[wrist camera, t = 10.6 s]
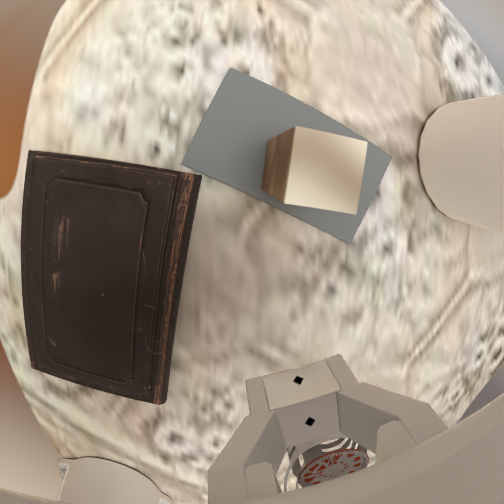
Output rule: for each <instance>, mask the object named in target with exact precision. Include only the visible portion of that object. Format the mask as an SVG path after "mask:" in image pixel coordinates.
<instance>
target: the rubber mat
mask: <svg viewBox="0 0 504 504" xmlns="http://www.w3.org/2000/svg"><path fill="white" fill-rule="evenodd" d="M295 126H299V127H304V128H309V129H314V130H319V131H324V132H328V133H333V134H337V135H341V136H346V137H350V138H354V139H358V140H362V141H366V142H368V143H367V150H366V158H365V165H364V171H363V178H362V184H361V190H360V196H359V202H358V207H357V213H356V214H350V213H344V212H338V211H331V210H325V209H319V208H312V207H305V206H299V205H292V204H285V203H283V202H282V201H280V200H278V199H277V198H275V197H274V196H272V195H270V194H269V193H267V192H266V191H264V190H263V189H261V185H262V178H263V171H264V164H265V157H266V150H267V143H268V140H269V139H271V138H273V137H275V136H277V135H279V134H281V133H283V132H285V131H287V130H289V129H291V128H293V127H295ZM391 158H392V156H390V155H389V154H388V153H386V152H385V151H383V150H382V149H380V148H379V147H377V146H376V145H374V144H373V143H371V142H370V141H368V140H366V139H365V138H363V137H362V136H360V135H359V134H357V133H355V132H354V131H352V130H351V129H349V128H347V127H346V126H344V125H342V124H341V123H339V122H337V121H336V120H334V119H332V118H330V117H329V116H327V115H325V114H323V113H322V112H320V111H318V110H316V109H314V108H313V107H311V106H309V105H307V104H305V103H303V102H302V101H300V100H298V99H296V98H294V97H292V96H290V95H288V94H286V93H284V92H282V91H280V90H278V89H276V88H274V87H272V86H270V85H268V84H266V83H264V82H262V81H259V80H257V79H255V78H253V77H251V76H249V75H246V74H244V73H242V72H239V71H237V70H235V69H233V68H230V69H229V71H228V73H227V75H226V76H225V78H224V80H223V82H222V84H221V85H220V87H219V89H218V91H217V93H216V95H215V97H214V99H213V100H212V102H211V104H210V106H209V108H208V110H207V112H206V114H205V116H204V118H203V120H202V122H201V124H200V126H199V128H198V130H197V132H196V134H195V136H194V138H193V140H192V142H191V144H190V146H189V149H188V151H187V153H186V155H185V157H184V159H183V161H182V165H184V166H187V167H189V168H191V169H194V170H196V171H198V172H200V173H203V174H205V175H207V176H209V177H212V178H214V179H216V180H218V181H220V182H223V183H225V184H227V185H229V186H231V187H234V188H236V189H238V190H240V191H242V192H244V193H246V194H249V195H251V196H253V197H255V198H257V199H259V200H261V201H263V202H266V203H268V204H270V205H272V206H274V207H276V208H278V209H280V210H282V211H284V212H286V213H288V214H290V215H292V216H294V217H296V218H299V219H301V220H303V221H305V222H307V223H309V224H311V225H313V226H315V227H317V228H319V229H321V230H323V231H325V232H326V233H328V234H330V235H332V236H334V237H336V238H338V239H340V240H342V241H344V242H346V243H348V244H350V243H351V241H352V239H353V237H354V235H355V233H356V231H357V229H358V227H359V225H360V223H361V221H362V219H363V217H364V215H365V213H366V211H367V209H368V207H369V205H370V203H371V201H372V199H373V197H374V195H375V193H376V191H377V189H378V186H379V184H380V182H381V180H382V178H383V176H384V174H385V171H386V169H387V167H388V165H389V163H390V160H391Z"/></svg>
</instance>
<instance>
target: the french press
mask: <svg viewBox="0 0 504 504" xmlns="http://www.w3.org/2000/svg"><path fill="white" fill-rule="evenodd" d="M338 438H339V439H338ZM345 438H346V436H344V435H343V434H341V432H339V433H335V434H332V435H329V436H325V437H322V438H318V439H315V440H311V441H308V442H305V443H302V444H298V445H297V447H295V446H292V447H288V448H287V452H288V456H289V460H290V466H289V468H288V470H287V472H286V475H285V482H284V492H287V488H286V485H287V477H288V474H289V471H290V469H291V468H292V472H293V474H294V475H295V476H296V477H297V482H296V490H297V489H298V483H299V484H300V485H301V486H302V487H303V488H305V487H308V486H312V485H315V484H319V483H322V482H326V481H329V480H332V479H335V478H338V477H341V476H344V475H347V474H350V473H353V472H356V471H358V470H361V469H364V468H366V467H367V465H368V462H369V457H368V455H367V453H366V452H367V449H366V448H364V447H363V446H361V445H359V444H358V447H357V449H354V448H355V445H356V442H354V441H353V443H352V447H351V448H350V449H346V448H347V447H348V446H349V444H350V441H351V439H349V438H348V440H347V441H346V443H345V444H344V445H343V446H342V447H341V448H340V449H337V450H334V451H331V452H322V449H326V448H331V447H334V446H337V445H339V444H340V443H341V442H342V441H343V440H344V439H345ZM333 439H338V440H337V441H335V442H332V443H329V444H321V445H320V443H323V442H325V441H328V440H333ZM300 454H302V455H303V458H304V464H303V466H302V467H301V466H300V462H299V458H298V457H299V456H300ZM305 465H306V466H305ZM304 466H305V467H304Z"/></svg>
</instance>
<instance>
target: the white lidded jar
mask: <svg viewBox="0 0 504 504" xmlns="http://www.w3.org/2000/svg"><path fill="white" fill-rule="evenodd" d="M419 164H420V173H421V177H422V180H423V183H424V186H425V189H426V192H427V193H428V195H429V196H430V198H431V199H432V201H433V203H434V204H435V206H436V207H437V208H438V209H439V210H440V211H441V212H443V213H444V214H445V215H446V216H448V217H449V218H451V219H454V220H457V221H460V222H463V223H466V224H469V225H472V226H475V227H478V228H481V229H484V230H487V231H490V232H493V233H496V234H498V235H501V236H504V95H496V96H488V97H481V98H474V99H468V100H462V101H456V102H450V103H448V104H446V105H443V106H441V107H439V108H438V109H437V110H436V111H435V112H434V113H433V115H432V116H431V117H430V118H429V119H428V120H427V122H426V125H425V127H424V130H423V132H422V135H421V139H420V147H419Z"/></svg>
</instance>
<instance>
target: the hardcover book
mask: <svg viewBox="0 0 504 504" xmlns="http://www.w3.org/2000/svg"><path fill="white" fill-rule="evenodd" d="M201 179H202V175H195V174H190V173H185V172H179V171H174V170H168V169H162V168H157V167H151V166H145V165H139V164H132V163H126V162H120V161H113V160H106V159H99V158H92V157H84V156H77V155H69V154H60V153H51V152H42V151H32V150H29V153H28V159H27V167H26V174H25V183H24V193H23V206H22V224H21V278H22V296H23V309H24V319H25V328H26V336H27V343H28V349H29V356H30V361H31V367H32V368H33V369H36V370H39V371H41V372H44V373H47V374H50V375H52V376H55V377H58V378H61V379H64V380H67V381H70V382H73V383H76V384H80V385H83V386H86V387H90V388H93V389H96V390H100V391H104V392H107V393H111V394H115V395H119V396H123V397H127V398H131V399H135V400H140V401H144V402H149V403H153V404H158V405H160V404H164V403H165V402H166V400H167V392H168V382H169V374H170V365H171V357H172V349H173V341H174V334H175V326H176V319H177V312H178V306H179V299H180V293H181V286H182V280H183V274H184V268H185V262H186V256H187V251H188V245H189V239H190V234H191V229H192V223H193V218H194V213H195V208H196V203H197V198H198V193H199V188H200V183H201Z"/></svg>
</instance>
